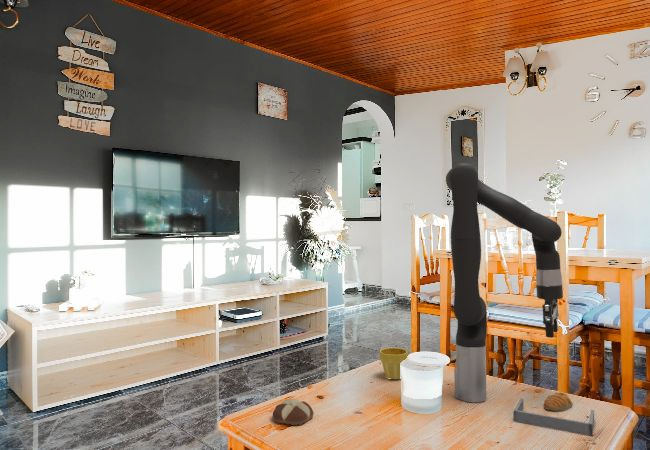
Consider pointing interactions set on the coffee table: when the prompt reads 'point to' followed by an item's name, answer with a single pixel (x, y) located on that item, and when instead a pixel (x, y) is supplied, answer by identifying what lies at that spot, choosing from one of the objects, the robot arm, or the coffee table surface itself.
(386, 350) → the plant pot
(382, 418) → the coffee table surface
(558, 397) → the pastry
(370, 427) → the coffee table surface
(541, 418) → the box
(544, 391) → the coffee table surface
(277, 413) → the bread
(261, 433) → the coffee table surface
